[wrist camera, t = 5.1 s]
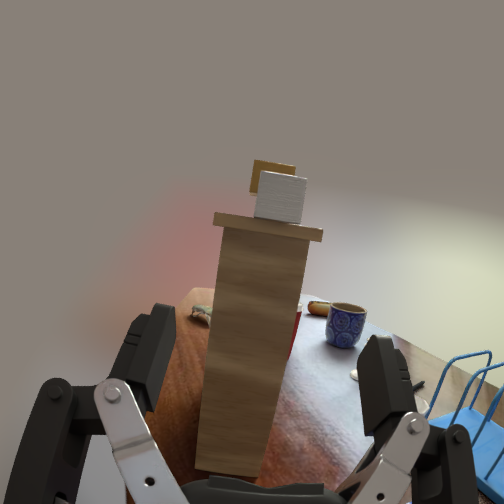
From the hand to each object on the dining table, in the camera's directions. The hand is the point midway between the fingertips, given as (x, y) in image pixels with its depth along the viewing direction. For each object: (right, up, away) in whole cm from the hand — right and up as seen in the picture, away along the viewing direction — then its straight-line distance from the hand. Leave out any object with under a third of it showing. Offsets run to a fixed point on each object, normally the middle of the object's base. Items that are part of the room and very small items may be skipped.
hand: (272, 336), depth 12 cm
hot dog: (+26, -21, +104) cm, 109 cm away
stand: (-4, -23, +32) cm, 39 cm away
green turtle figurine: (-15, -17, +78) cm, 81 cm away
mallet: (+1, +6, +19) cm, 20 cm away
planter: (+25, -23, +75) cm, 82 cm away
